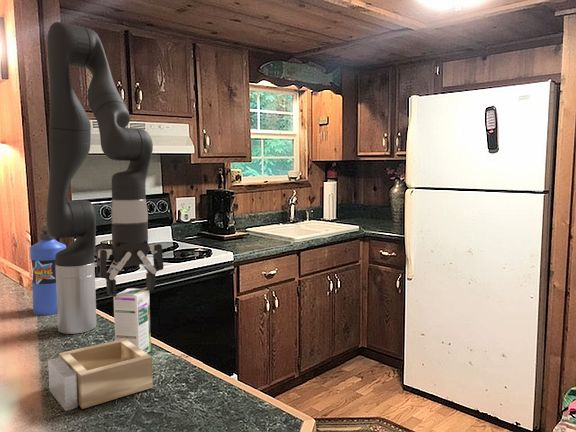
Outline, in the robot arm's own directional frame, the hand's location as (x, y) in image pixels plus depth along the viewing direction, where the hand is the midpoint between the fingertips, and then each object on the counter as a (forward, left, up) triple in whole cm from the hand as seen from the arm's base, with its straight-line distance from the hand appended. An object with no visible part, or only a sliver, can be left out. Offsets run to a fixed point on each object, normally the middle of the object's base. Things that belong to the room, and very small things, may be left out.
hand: (131, 292), depth 107 cm
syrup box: (0, 0, -14) cm, 14 cm away
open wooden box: (+12, -10, -14) cm, 21 cm away
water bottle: (-47, -5, -14) cm, 50 cm away
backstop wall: (+12, -18, -14) cm, 26 cm away
